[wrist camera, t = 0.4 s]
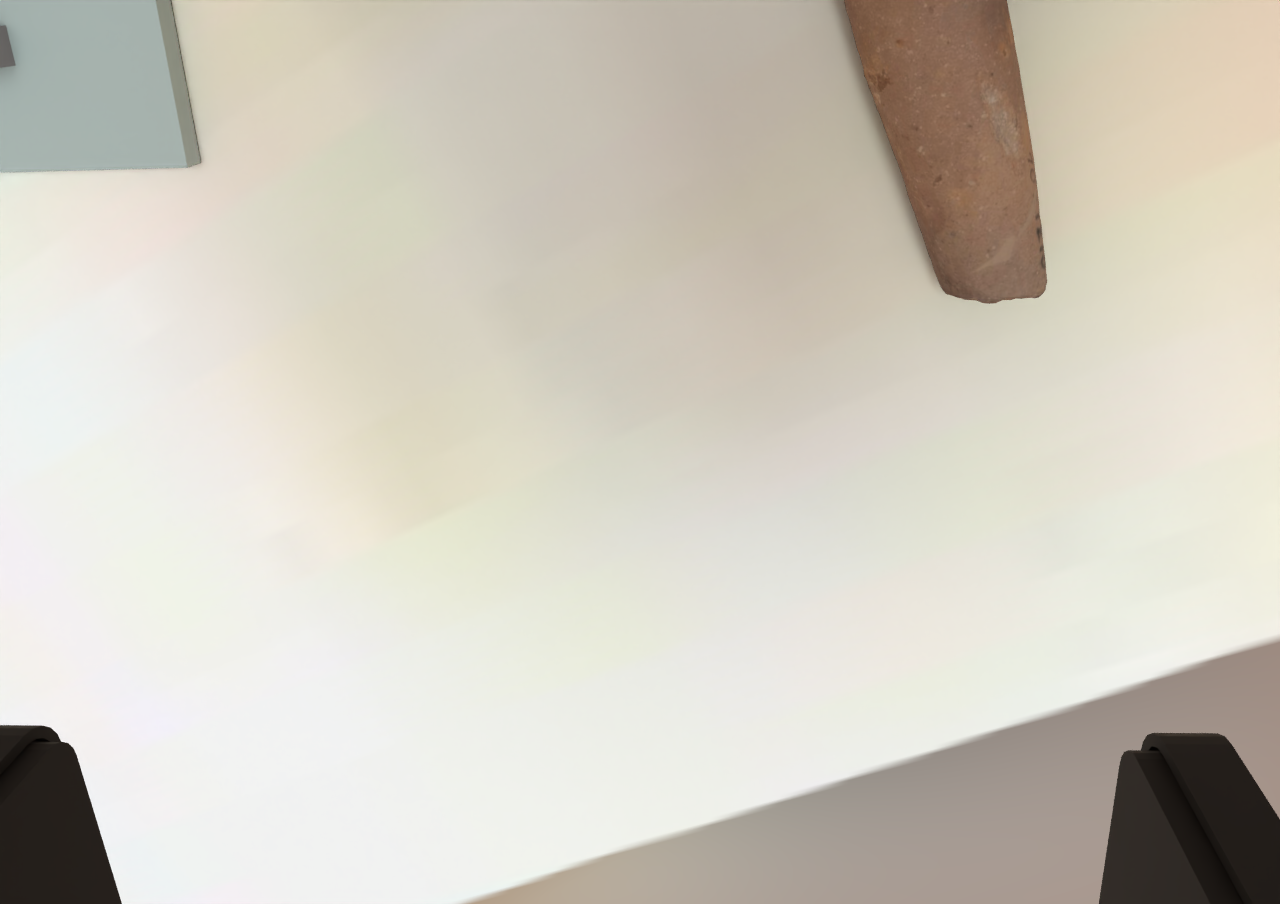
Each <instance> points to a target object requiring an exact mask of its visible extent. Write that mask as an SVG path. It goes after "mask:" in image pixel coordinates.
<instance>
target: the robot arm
mask: <svg viewBox="0 0 1280 904" xmlns="http://www.w3.org/2000/svg"><path fill="white" fill-rule="evenodd" d="M0 904H122V903H121V900H120V896H119V893H118V890H117V886H116V883H115V880H114V877H113V873H112V870H111V867H110V863H109V860H108V857H107V854H106V850H105V847H104V844H103V840H102V837H101V834H100V831H99V827H98V824H97V821H96V818H95V814H94V811H93V808H92V804H91V801H90V798H89V795H88V791H87V788H86V785H85V781H84V778H83V775H82V772H81V768H80V765H79V762H78V758H77V755H76V753H75V751H74V749H73V747H71V746H70V745H69V744H68V743H64V742H61V741H60V739H59V737H58V734H57V733H56V732H55V731H54V730H52V729H51V728H50V727H46V726H17V725H0ZM1099 904H1280V819H1279V817H1278V816H1277V814H1276V813H1275V811H1274V810H1273V808H1272V807H1271V805H1270V804H1269V802H1268V800H1267V799H1266V797H1265V796H1264V794H1263V793H1262V791H1261V790H1260V788H1259V786H1258V785H1257V783H1256V782H1255V780H1254V779H1253V777H1252V775H1251V774H1250V772H1249V771H1248V769H1247V768H1246V766H1245V765H1244V763H1243V761H1242V760H1241V758H1240V757H1239V755H1238V754H1237V752H1236V751H1235V749H1234V747H1233V746H1232V744H1231V743H1230V742H1229V741H1228V740H1227V739H1226V737H1225V736H1222V735H1220V734H1213V733H1210V734H1209V733H1152V734H1149V735H1147V736H1146V738H1145V740H1144V741H1143V745H1142V749H1141V751H1131V750H1130V751H1126V752H1124V754H1123V755H1122V757H1121V761H1120V766H1119V773H1118V779H1117V786H1116V793H1115V799H1114V806H1113V813H1112V819H1111V826H1110V833H1109V839H1108V846H1107V853H1106V860H1105V866H1104V873H1103V880H1102V886H1101V893H1100V900H1099Z"/></svg>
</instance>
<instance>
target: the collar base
mask: <svg viewBox="0 0 1280 904" xmlns="http://www.w3.org/2000/svg"><path fill="white" fill-rule="evenodd" d="M199 163H201V161H200V155H199V150H198V145H197V139H196V134H195V129H194V123H193V118H192V112H191V107H190V102H189V96H188V91H187V86H186V80H185V75H184V70H183V64H182V59H181V54H180V48H179V43H178V37H177V32H176V27H175V21H174V16H173V11H172V5H171V0H0V172H34V171H73V170H111V169H150V168H188V167H190V166H193V165H196V164H199Z"/></svg>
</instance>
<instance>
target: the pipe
mask: <svg viewBox="0 0 1280 904" xmlns="http://www.w3.org/2000/svg"><path fill="white" fill-rule="evenodd" d="M844 1H845V6H846V11H847V14H848V16H849V20H850V23H851V27H852V31H853V35H854V38H855V42H856V46H857V49H858V52H859V55H860V58H861V61H862V65H863V68H864V76H865V78H866V80H867V82H868V86H869V89H870V91H871V93H872V95H873V98H874V101H875V104H876V107H877V109H878V112H879V114H880V117H881V119H882V122H883V125H884V128H885V130H886V133H887V136H888V139H889V142H890V144H891V147H892V150H893V152H894V155H895V157H896V160H897V162H898V165H899V168H900V170H901V173H902V176H903V179H904V182H905V186H906V189H907V193H908V196H909V199H910V202H911V205H912V207H913V210H914V213H915V216H916V219H917V221H918V224H919V227H920V230H921V233H922V235H923V238H924V241H925V244H926V247H927V250H928V253H929V256H930V259H931V261H932V264H933V268H934V271H935V273H936V276H937V279H938V281H939V284H940V286H941V287H942V289H943V291H944V292H945V293H946V294H949V295H952V296H955V297H958V298H962V299H965V300H977V301H980V302H982V303H989V304H990V303H997V302H999V301H1001V300H1012V299H1015V298H1021V299H1022V298H1030V297H1031V298H1037V297H1039V296H1041V295H1042V294H1043V293H1044V291H1045V289H1046V283H1047V276H1046V265H1045V255H1044V246H1043V238H1042V227H1041V220H1040V215H1039V200H1038V191H1037V183H1036V175H1035V167H1034V158H1033V151H1032V145H1031V139H1030V132H1029V126H1028V120H1027V114H1026V108H1025V101H1024V95H1023V90H1022V84H1021V77H1020V70H1019V65H1018V59H1017V54H1016V49H1015V43H1014V36H1013V31H1012V26H1011V21H1010V16H1009V11H1008V5H1007V0H844Z"/></svg>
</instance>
